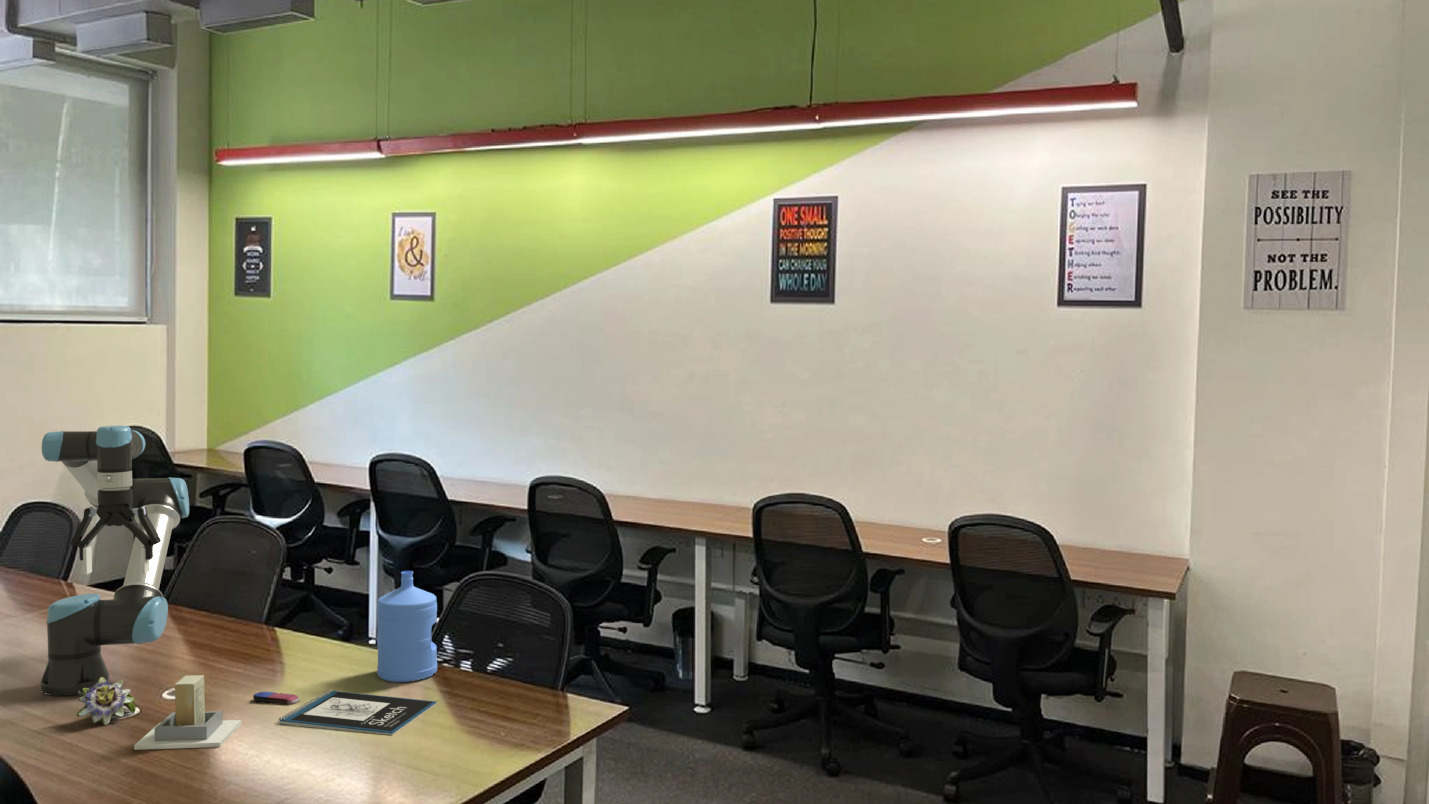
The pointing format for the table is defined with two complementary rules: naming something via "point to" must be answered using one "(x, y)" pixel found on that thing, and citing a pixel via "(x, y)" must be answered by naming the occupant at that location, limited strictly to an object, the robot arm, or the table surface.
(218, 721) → the socket board
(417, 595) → the water jug
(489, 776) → the table surface
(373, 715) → the sketchbook
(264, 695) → the eraser
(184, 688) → the skincare box
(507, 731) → the table surface
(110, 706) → the passion flower
